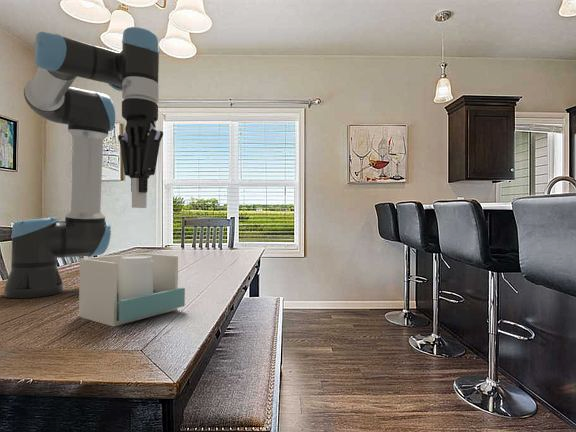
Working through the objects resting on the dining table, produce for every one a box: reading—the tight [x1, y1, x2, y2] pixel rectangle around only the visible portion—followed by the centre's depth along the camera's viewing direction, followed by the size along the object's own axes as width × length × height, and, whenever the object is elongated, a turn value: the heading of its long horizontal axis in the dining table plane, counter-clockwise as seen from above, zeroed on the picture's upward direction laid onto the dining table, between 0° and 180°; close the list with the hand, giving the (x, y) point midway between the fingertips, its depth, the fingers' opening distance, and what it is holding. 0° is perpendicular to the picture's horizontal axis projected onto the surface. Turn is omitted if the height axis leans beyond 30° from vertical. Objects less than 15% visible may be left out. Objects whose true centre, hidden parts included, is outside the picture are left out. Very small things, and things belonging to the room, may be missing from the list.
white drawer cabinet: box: [78, 252, 179, 327], centre depth 93 cm, size 14×18×14 cm
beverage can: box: [118, 255, 154, 302], centre depth 93 cm, size 8×8×12 cm
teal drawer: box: [117, 287, 186, 322], centre depth 92 cm, size 14×18×5 cm
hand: (139, 207), depth 82 cm, fingers closed
